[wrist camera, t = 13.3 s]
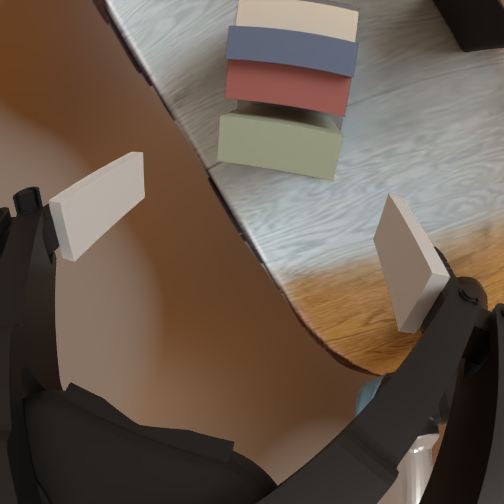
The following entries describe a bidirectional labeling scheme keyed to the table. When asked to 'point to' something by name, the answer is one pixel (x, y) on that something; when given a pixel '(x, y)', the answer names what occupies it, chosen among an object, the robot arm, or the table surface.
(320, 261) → the table surface
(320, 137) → the loose book
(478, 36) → the bookend
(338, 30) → the book shelf
